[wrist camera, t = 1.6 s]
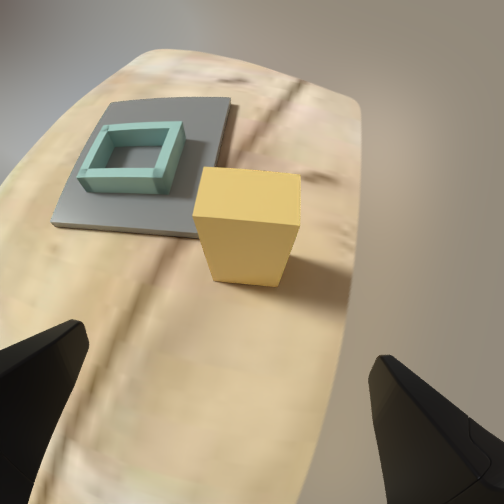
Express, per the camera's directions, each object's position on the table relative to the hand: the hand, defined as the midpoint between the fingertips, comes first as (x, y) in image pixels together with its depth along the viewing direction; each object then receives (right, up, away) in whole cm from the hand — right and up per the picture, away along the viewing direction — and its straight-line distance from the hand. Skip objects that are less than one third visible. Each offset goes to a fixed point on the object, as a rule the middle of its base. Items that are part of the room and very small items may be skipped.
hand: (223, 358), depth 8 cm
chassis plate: (-11, +13, +20) cm, 26 cm away
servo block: (0, +2, +15) cm, 15 cm away
